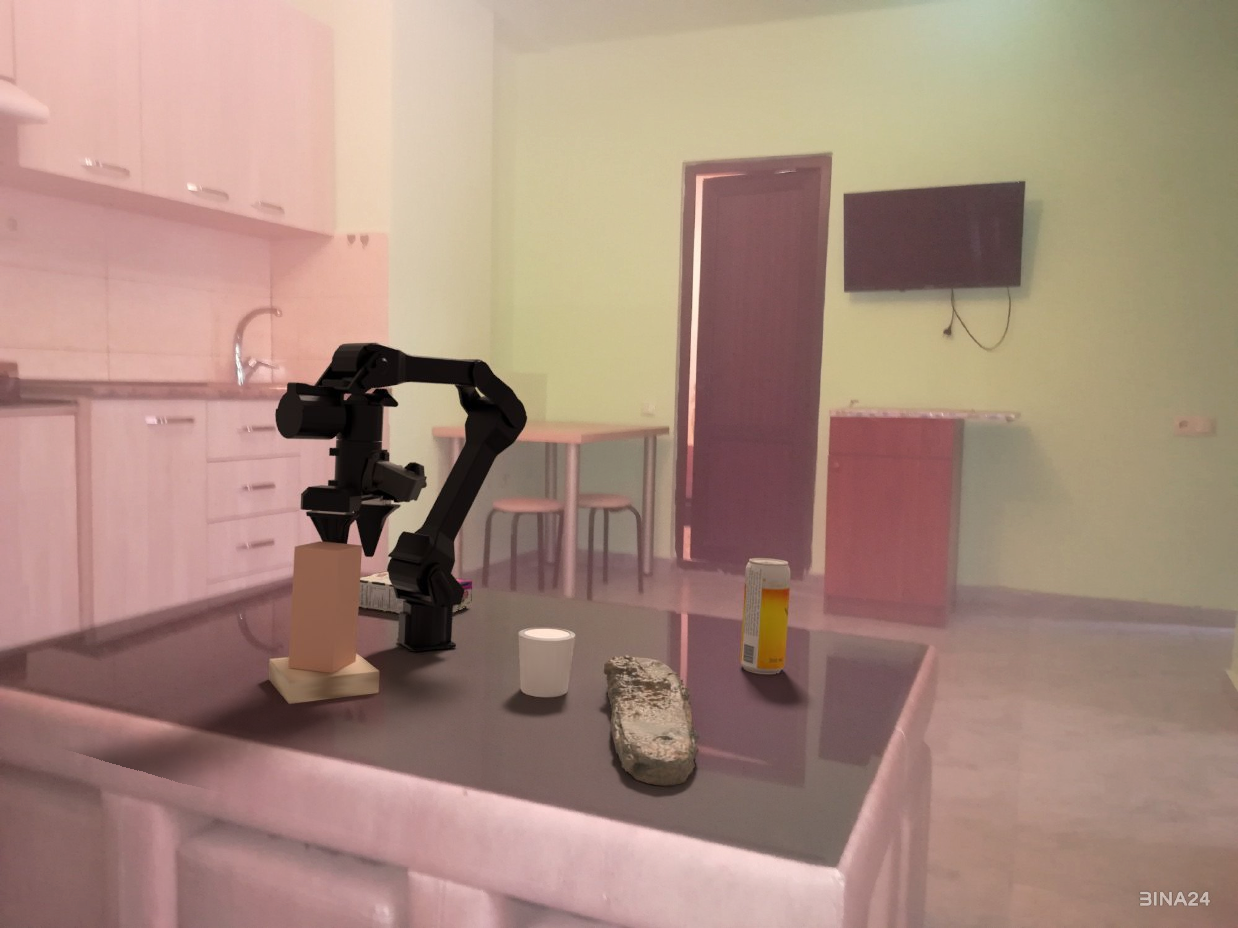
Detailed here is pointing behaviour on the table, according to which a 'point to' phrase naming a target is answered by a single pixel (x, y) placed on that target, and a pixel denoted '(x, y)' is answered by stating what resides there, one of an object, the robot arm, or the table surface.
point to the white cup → (545, 660)
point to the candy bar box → (382, 595)
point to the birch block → (323, 681)
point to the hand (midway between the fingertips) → (354, 561)
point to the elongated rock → (651, 720)
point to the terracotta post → (325, 606)
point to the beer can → (765, 615)
